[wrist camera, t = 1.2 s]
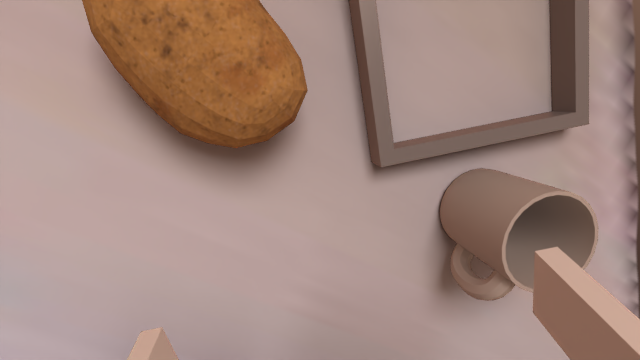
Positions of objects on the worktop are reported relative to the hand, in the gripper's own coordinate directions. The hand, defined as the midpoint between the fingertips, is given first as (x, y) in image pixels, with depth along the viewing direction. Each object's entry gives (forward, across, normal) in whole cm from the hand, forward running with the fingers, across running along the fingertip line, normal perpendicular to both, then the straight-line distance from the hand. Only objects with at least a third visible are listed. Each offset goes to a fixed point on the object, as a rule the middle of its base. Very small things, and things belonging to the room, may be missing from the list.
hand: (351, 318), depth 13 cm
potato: (+19, +7, -8) cm, 22 cm away
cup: (+19, -11, +10) cm, 24 cm away
